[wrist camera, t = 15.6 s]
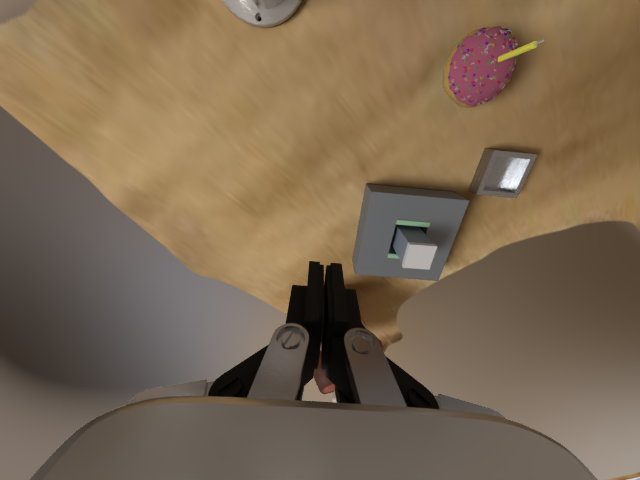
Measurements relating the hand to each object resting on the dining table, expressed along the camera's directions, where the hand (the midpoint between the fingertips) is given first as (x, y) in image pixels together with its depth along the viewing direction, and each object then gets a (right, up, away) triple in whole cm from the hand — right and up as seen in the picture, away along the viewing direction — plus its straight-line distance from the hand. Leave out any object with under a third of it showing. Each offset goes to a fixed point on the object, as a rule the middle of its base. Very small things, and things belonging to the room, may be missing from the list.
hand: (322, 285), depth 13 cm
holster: (+30, +14, +29) cm, 44 cm away
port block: (+15, +5, +34) cm, 37 cm away
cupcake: (+20, +27, +23) cm, 40 cm away
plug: (+15, +4, +33) cm, 36 cm away
